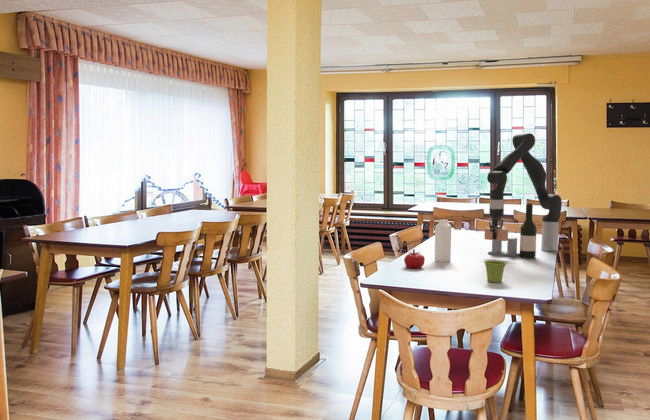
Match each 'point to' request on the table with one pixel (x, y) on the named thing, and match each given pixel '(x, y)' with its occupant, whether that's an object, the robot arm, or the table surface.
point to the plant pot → (494, 270)
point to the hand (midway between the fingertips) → (496, 238)
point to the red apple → (414, 260)
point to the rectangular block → (501, 234)
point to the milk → (443, 241)
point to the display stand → (510, 248)
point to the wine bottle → (528, 235)
